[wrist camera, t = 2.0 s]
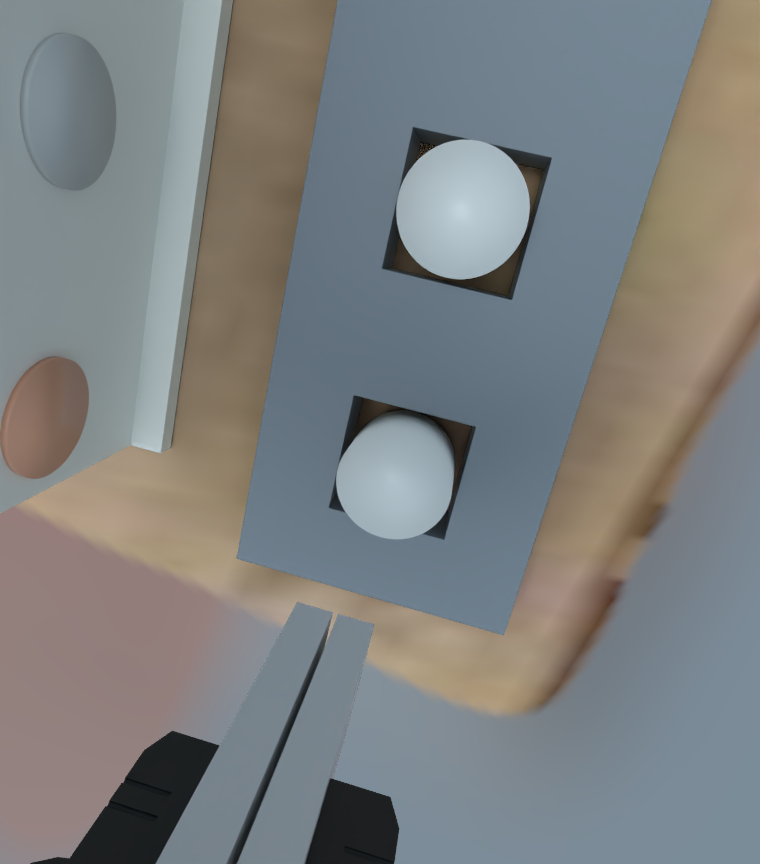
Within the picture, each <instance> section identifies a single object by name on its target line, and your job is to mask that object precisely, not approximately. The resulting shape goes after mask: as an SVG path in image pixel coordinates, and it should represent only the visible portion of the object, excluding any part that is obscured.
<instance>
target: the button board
mask: <svg viewBox="0 0 760 864" xmlns="http://www.w3.org/2000/svg"><path fill="white" fill-rule="evenodd" d="M711 1H712V0H338V1H337V7H336V12H335V18H334V23H333V29H332V34H331V40H330V45H329V51H328V56H327V62H326V67H325V73H324V78H323V84H322V90H321V95H320V101H319V106H318V112H317V117H316V123H315V128H314V134H313V139H312V145H311V150H310V156H309V161H308V167H307V172H306V178H305V184H304V189H303V195H302V200H301V206H300V211H299V217H298V222H297V228H296V233H295V239H294V244H293V250H292V255H291V261H290V267H289V272H288V278H287V283H286V289H285V294H284V300H283V305H282V311H281V316H280V322H279V327H278V333H277V338H276V344H275V350H274V355H273V361H272V366H271V372H270V377H269V383H268V388H267V394H266V399H265V405H264V410H263V416H262V421H261V427H260V432H259V438H258V444H257V449H256V455H255V460H254V466H253V471H252V477H251V482H250V488H249V493H248V499H247V504H246V510H245V515H244V521H243V527H242V532H241V538H240V543H239V549H238V554H237V559H240V560H243V561H247V562H250V563H254V564H257V565H261V566H264V567H268V568H271V569H275V570H278V571H282V572H285V573H289V574H292V575H296V576H299V577H303V578H306V579H310V580H313V581H317V582H320V583H324V584H327V585H331V586H334V587H338V588H341V589H344V590H348V591H351V592H355V593H358V594H362V595H365V596H369V597H372V598H376V599H379V600H383V601H386V602H390V603H393V604H397V605H400V606H404V607H407V608H411V609H414V610H418V611H421V612H425V613H428V614H432V615H435V616H439V617H442V618H446V619H449V620H453V621H456V622H460V623H463V624H466V625H470V626H473V627H477V628H480V629H484V630H487V631H491V632H494V633H498V634H501V635H504V633H505V630H506V627H507V624H508V621H509V618H510V615H511V612H512V609H513V606H514V603H515V600H516V597H517V594H518V591H519V588H520V584H521V581H522V578H523V575H524V572H525V569H526V566H527V563H528V560H529V557H530V554H531V551H532V548H533V545H534V542H535V539H536V536H537V533H538V529H539V526H540V523H541V520H542V517H543V514H544V511H545V508H546V505H547V502H548V499H549V496H550V493H551V490H552V487H553V484H554V481H555V478H556V474H557V471H558V468H559V465H560V462H561V459H562V456H563V453H564V450H565V447H566V444H567V441H568V438H569V435H570V432H571V429H572V426H573V423H574V419H575V416H576V413H577V410H578V407H579V404H580V401H581V398H582V395H583V392H584V389H585V386H586V383H587V380H588V377H589V374H590V371H591V368H592V364H593V361H594V358H595V355H596V352H597V349H598V346H599V343H600V340H601V337H602V334H603V331H604V328H605V325H606V322H607V319H608V316H609V313H610V310H611V306H612V303H613V300H614V297H615V294H616V291H617V288H618V285H619V282H620V279H621V276H622V273H623V270H624V267H625V264H626V261H627V258H628V255H629V251H630V248H631V245H632V242H633V239H634V236H635V233H636V230H637V227H638V224H639V221H640V218H641V215H642V212H643V209H644V206H645V203H646V200H647V196H648V193H649V190H650V187H651V184H652V181H653V178H654V175H655V172H656V169H657V166H658V163H659V160H660V157H661V154H662V151H663V148H664V145H665V141H666V138H667V135H668V132H669V129H670V126H671V123H672V120H673V117H674V114H675V111H676V108H677V105H678V102H679V99H680V96H681V93H682V90H683V86H684V83H685V80H686V77H687V74H688V71H689V68H690V65H691V62H692V59H693V56H694V53H695V50H696V47H697V44H698V41H699V38H700V35H701V32H702V28H703V25H704V22H705V19H706V16H707V13H708V10H709V7H710V4H711ZM455 140H477V141H481V142H485V143H488V144H490V145H492V146H495V147H497V148H498V149H500V150H501V151H503V152H504V153H505V154H506V155H508V156H509V157H510V158H511V159H512V160H513V162H514V163H518V164H522V165H526V166H531V167H535V168H540V169H544V172H543V175H542V179H541V183H540V186H539V190H538V193H537V197H536V200H535V204H534V208H533V211H532V215H531V218H530V222H529V225H528V229H527V233H526V236H525V240H524V243H523V247H522V250H521V254H520V257H519V261H518V265H517V268H516V272H515V275H514V279H513V282H512V286H511V290H510V293H509V296H506V295H502V294H498V293H494V292H490V291H486V290H481V289H477V288H473V287H469V286H465V285H461V284H457V283H452V282H448V281H444V280H440V279H436V278H432V277H428V276H423V275H419V274H415V273H411V272H407V271H403V270H398V269H394V268H392V266H393V262H394V258H395V253H396V249H397V244H398V240H399V235H400V234H399V230H398V225H397V217H396V207H397V199H398V195H399V191H400V188H401V185H402V183H403V181H404V178H405V177H406V175H407V173H408V172H409V170H410V169H411V168H412V166H413V165H414V164H415V163H416V160H417V156H418V151H419V147H420V142H423V143H428V144H432V145H437V146H439V145H441V144H444V143H447V142H450V141H455ZM363 398H367V399H371V400H375V401H379V402H382V403H386V404H390V405H394V406H398V407H402V408H406V409H409V410H413V411H417V412H421V413H425V414H429V415H432V416H436V417H440V418H444V419H448V420H452V421H456V422H459V423H463V424H467V425H471V426H472V429H471V432H470V436H469V439H468V443H467V447H466V450H465V454H464V457H463V461H462V464H461V468H460V472H459V475H458V479H457V482H456V486H455V489H454V493H453V497H452V500H451V504H450V507H449V511H448V513H447V512H445V514H444V515H443V517H442V518H441V520H440V521H439V522H438V523H437V524H436V525H435V526H433V527H432V528H431V529H430V530H428V531H426V532H425V533H423V534H420V535H418V536H415V537H412V538H407V539H386V538H382V537H378V536H375V535H373V534H371V533H369V532H367V531H365V530H363V529H362V528H360V527H359V526H358V525H357V524H356V523H354V522H353V521H352V519H351V518H350V517H349V516H348V515H347V513H346V512H345V510H344V508H343V507H342V505H341V502H340V500H339V497H338V493H337V487H336V476H337V470H338V466H339V463H340V461H341V459H342V457H343V455H344V453H345V452H346V450H347V449H348V447H349V446H350V445H351V443H352V442H353V439H354V435H355V430H356V426H357V421H358V417H359V413H360V408H361V404H362V399H363Z"/></svg>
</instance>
